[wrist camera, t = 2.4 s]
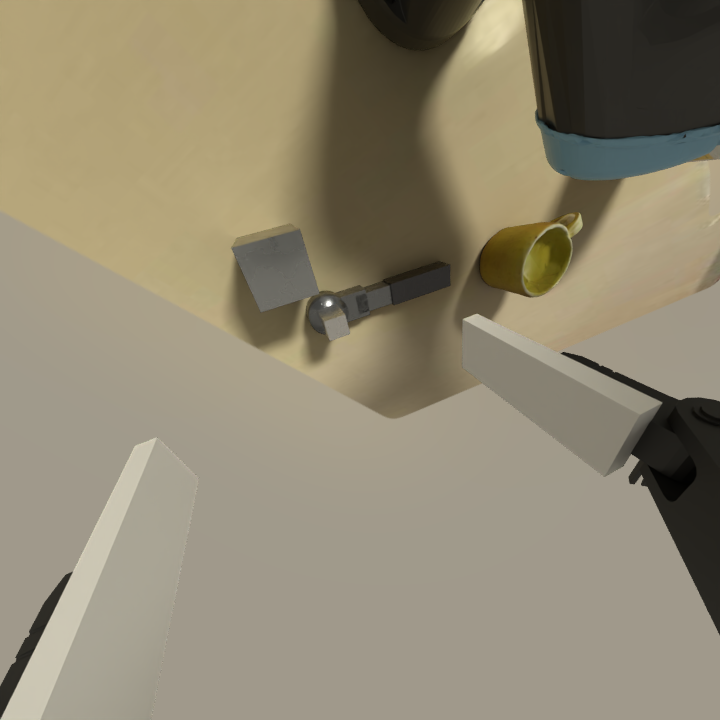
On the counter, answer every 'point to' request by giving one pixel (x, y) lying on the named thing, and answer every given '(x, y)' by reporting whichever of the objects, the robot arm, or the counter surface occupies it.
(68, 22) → the counter surface
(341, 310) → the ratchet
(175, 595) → the robot arm
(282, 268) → the grey block
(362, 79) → the counter surface
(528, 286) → the mug
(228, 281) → the counter surface
